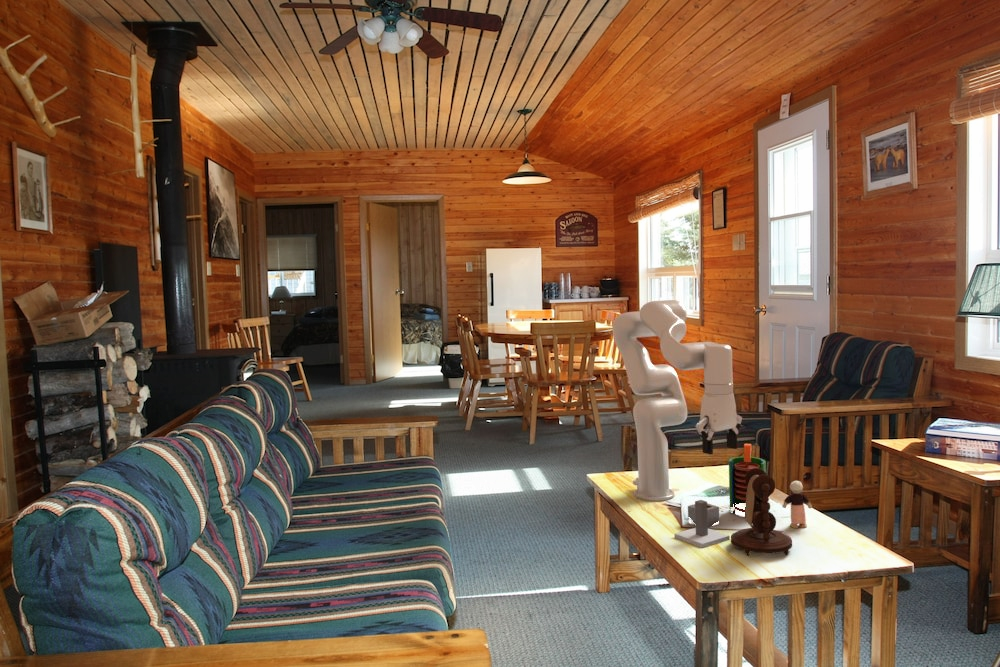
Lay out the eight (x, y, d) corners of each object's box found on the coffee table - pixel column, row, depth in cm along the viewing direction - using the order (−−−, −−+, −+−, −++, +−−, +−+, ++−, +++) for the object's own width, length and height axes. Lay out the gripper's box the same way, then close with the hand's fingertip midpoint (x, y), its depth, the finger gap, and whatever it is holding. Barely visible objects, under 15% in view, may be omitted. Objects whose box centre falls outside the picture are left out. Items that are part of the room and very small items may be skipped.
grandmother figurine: (806, 523, 208) (805, 478, 207) (813, 527, 204) (813, 481, 203) (780, 525, 207) (779, 480, 206) (787, 529, 203) (786, 483, 202)
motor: (730, 517, 216) (729, 448, 214) (728, 507, 224) (727, 442, 223) (767, 518, 213) (766, 449, 212) (764, 508, 222) (763, 442, 221)
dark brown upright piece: (724, 539, 198) (723, 464, 197) (781, 537, 197) (780, 463, 196) (739, 559, 184) (737, 479, 182) (800, 558, 183) (799, 478, 181)
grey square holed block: (688, 523, 212) (687, 506, 212) (703, 519, 215) (702, 502, 215) (704, 528, 207) (703, 511, 207) (719, 524, 210) (718, 506, 210)
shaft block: (674, 537, 201) (673, 500, 201) (701, 529, 206) (700, 493, 206) (702, 547, 193) (701, 509, 192) (729, 539, 198) (728, 502, 197)
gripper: (729, 384, 213) (730, 443, 214) (686, 391, 204) (687, 453, 205) (750, 387, 207) (751, 448, 208) (707, 394, 198) (708, 458, 199)
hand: (720, 450), depth 207 cm, fingers open, 9 cm apart
